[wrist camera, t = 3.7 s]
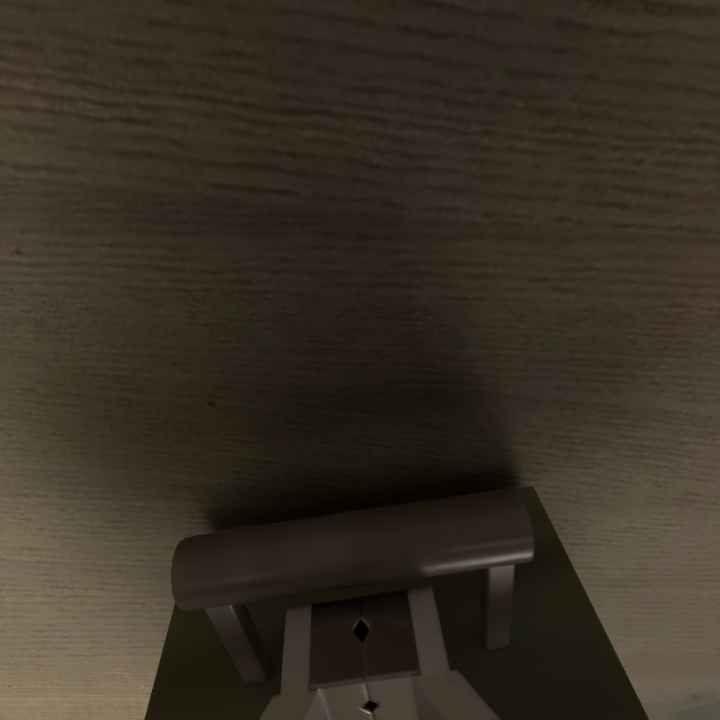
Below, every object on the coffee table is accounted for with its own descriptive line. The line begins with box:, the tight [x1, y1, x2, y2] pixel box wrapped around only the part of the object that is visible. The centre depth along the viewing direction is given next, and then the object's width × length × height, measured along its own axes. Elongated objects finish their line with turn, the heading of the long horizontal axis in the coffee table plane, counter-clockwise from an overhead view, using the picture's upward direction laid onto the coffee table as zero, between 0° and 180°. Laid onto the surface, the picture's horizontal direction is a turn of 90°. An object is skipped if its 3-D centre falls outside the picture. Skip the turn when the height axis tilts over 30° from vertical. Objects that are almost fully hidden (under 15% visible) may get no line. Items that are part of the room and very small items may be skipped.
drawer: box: [145, 487, 649, 720], centre depth 15 cm, size 18×11×7 cm, turn 7°
